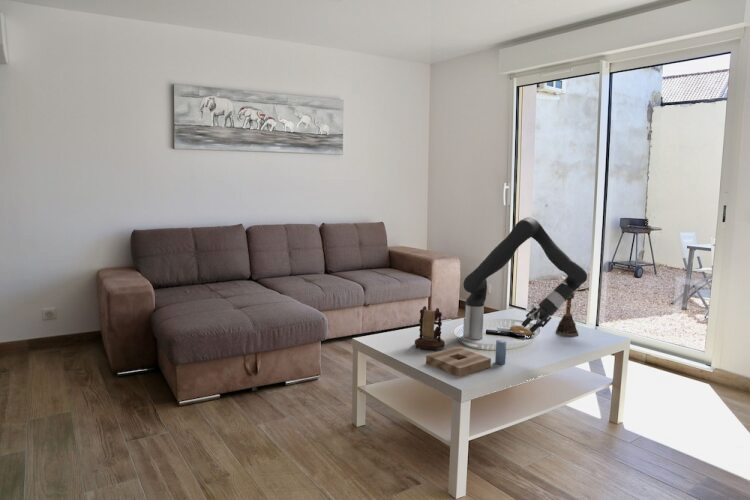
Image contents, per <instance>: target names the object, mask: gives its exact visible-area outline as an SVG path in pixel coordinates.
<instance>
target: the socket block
mask: <svg viewBox="0 0 750 500" xmlns="http://www.w3.org/2000/svg"><path fill="white" fill-rule="evenodd" d="M491 363H492V358H491V357H488V356H485V355H482V354H480V353H476V352H473V351H471V350H468V349H464V348H462V347H460V346H453V347H451V348H448V349H444V350H439V351H435V352H433V353H430V354H425V364H426V365H429V366H430V367H433V368H436V369H438V370H440V371H442V372H445V373H447V372H448V374H450V375H453V376H455V377H457V376H458V377H457V378H459V377H460V378H462V376H463V377H465V375H466V376H468V374H469V375H471V374H474V373H477V372H478V373H479V372H481V371H484V370H487V369H489V368H492V367H491V365H492V364H491Z"/></svg>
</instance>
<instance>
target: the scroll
mask: <svg viewBox="0 0 750 500" xmlns="http://www.w3.org/2000/svg"><path fill="white" fill-rule="evenodd" d="M419 314H420V315H419V316H420V317H419V320H418V321H419V337H418V338H416V339H415V340H414V345H415V347H416V349H418V348H422V349H429V350H433V351H434V352H437V349H441V348H444V347H446V346H445V345H446V342H445V341H444V340H443V339H442V337H441V335H442V328H441V327H442V325H443V323H442V317H443V314H442V312H441V311H440V309H439V308H438V307H436V308H435V310H432V309H427V306H426V305H425V306H423V307H422V309H420V310H419ZM435 326H436V327H435Z"/></svg>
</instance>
